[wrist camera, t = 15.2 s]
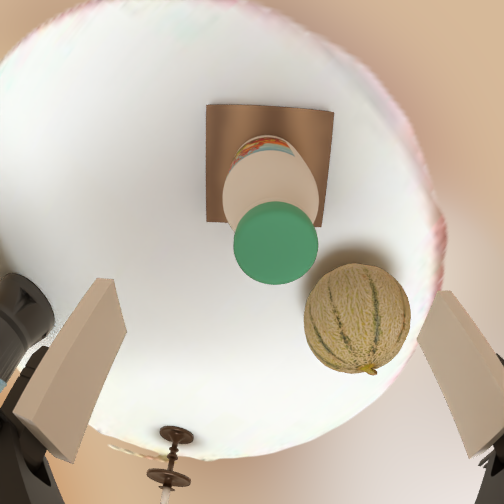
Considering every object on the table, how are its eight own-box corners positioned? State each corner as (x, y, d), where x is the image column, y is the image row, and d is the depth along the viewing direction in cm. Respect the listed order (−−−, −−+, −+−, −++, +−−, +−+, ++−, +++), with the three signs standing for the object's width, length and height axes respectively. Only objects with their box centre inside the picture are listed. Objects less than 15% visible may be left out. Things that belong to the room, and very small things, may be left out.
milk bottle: (309, 144, 32) (369, 204, 15) (290, 206, 36) (318, 319, 18) (241, 126, 32) (219, 162, 14) (226, 190, 35) (193, 293, 18)
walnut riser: (210, 213, 40) (206, 221, 37) (210, 104, 33) (206, 105, 30) (317, 218, 40) (321, 227, 37) (328, 111, 33) (334, 112, 30)
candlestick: (180, 445, 72) (163, 552, 41) (149, 429, 68) (124, 542, 38) (205, 437, 69) (191, 556, 38) (173, 420, 65) (149, 547, 34)
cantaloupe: (363, 225, 40) (406, 287, 27) (402, 292, 45) (440, 357, 32) (277, 282, 45) (283, 359, 31) (328, 337, 50) (344, 410, 37)
